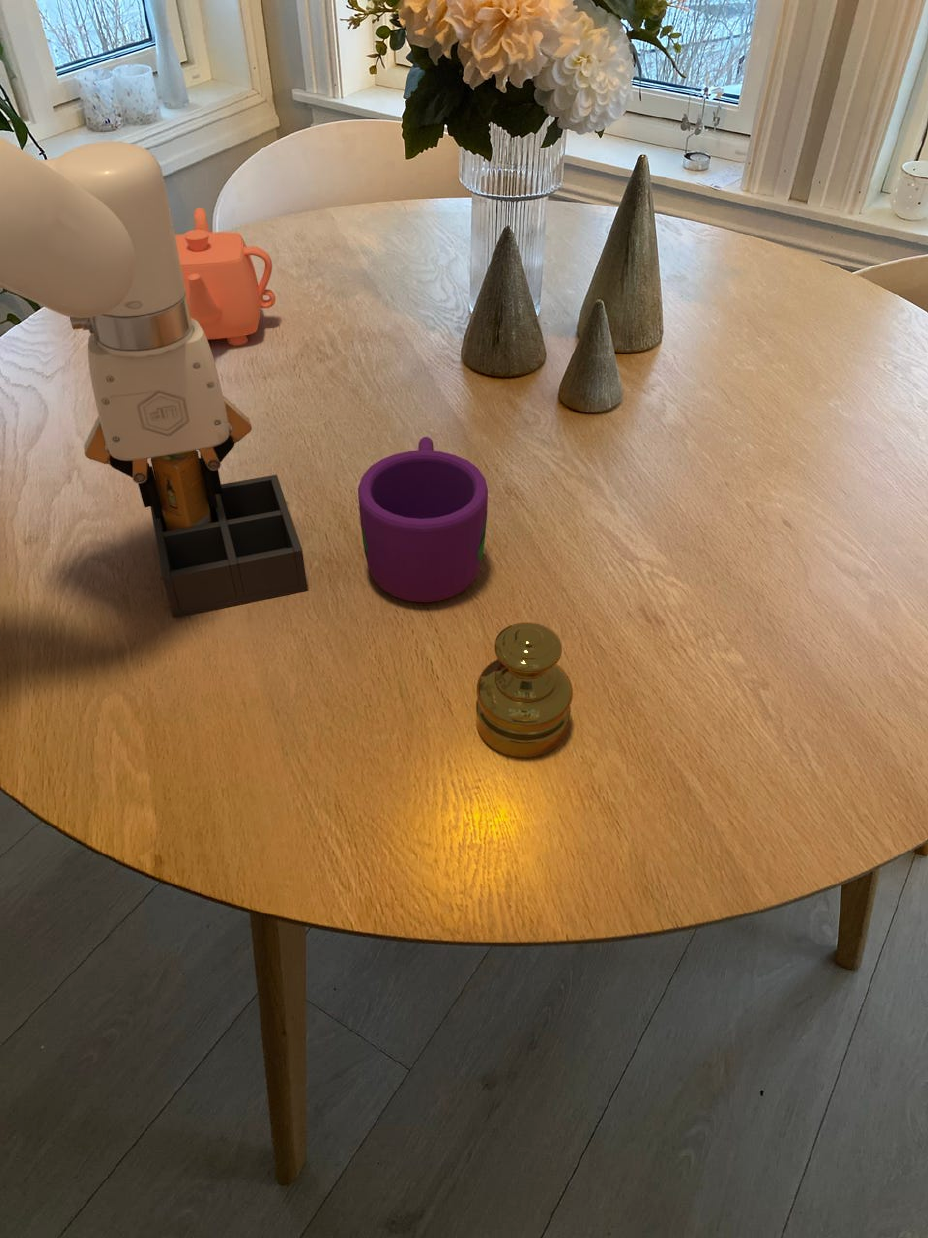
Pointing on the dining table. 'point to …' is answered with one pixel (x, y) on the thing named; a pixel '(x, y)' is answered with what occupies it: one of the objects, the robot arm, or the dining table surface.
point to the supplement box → (181, 490)
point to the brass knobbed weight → (524, 692)
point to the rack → (233, 551)
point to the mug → (423, 523)
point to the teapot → (223, 281)
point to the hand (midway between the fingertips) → (184, 503)
